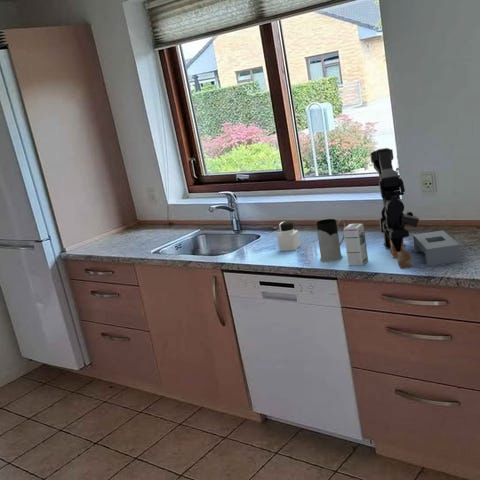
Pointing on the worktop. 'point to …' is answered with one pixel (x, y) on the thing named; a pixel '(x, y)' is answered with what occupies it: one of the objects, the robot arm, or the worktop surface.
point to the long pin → (393, 250)
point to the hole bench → (437, 247)
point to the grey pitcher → (329, 240)
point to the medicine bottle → (288, 237)
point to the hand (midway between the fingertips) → (397, 250)
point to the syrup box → (355, 244)
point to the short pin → (404, 259)
